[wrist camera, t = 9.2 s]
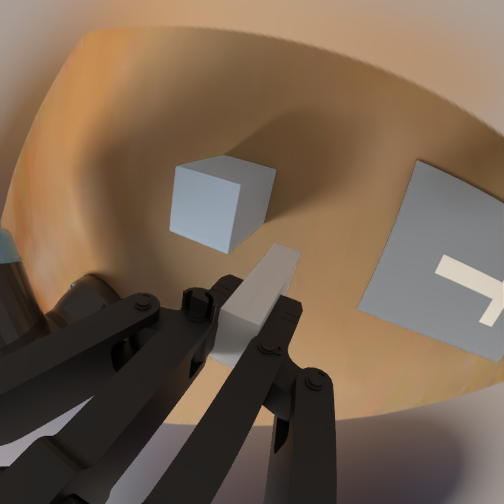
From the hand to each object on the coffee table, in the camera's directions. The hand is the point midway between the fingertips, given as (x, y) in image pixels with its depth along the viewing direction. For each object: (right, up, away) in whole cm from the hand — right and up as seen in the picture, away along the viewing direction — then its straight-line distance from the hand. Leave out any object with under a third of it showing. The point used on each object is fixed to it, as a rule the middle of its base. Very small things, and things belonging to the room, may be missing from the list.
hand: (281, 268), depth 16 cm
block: (-2, +6, +10) cm, 12 cm away
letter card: (+18, -1, +4) cm, 18 cm away
